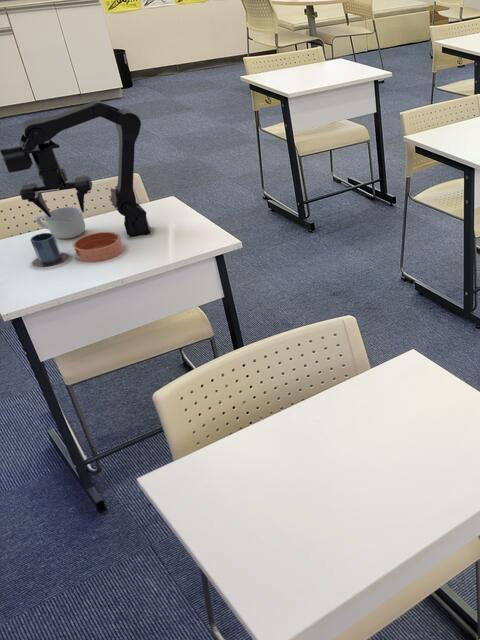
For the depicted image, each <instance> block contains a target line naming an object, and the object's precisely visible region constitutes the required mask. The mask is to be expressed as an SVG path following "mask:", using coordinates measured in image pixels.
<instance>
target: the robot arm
mask: <svg viewBox="0 0 480 640" xmlns="http://www.w3.org/2000/svg"><path fill="white" fill-rule="evenodd" d="M97 118H102V119H106V120H107V121H109V122H112V123H114V124H115V128H116V131H117V136H118V165H117V166H118V167H117V168H118V171H117V185H116V186H115V188H112V187H111V188H110V198H109V201H110V203H112V206H113V208H115V210H116V211H117V212H118V213H119V214H120V215H121V216H123V217H124V221H123V225H124V228H125V231H126V234H127V235H128V238H135V237H144V236H149V235H151V232H152V228H151V226H150V223H149V220H148V217H147V211H146V210H145V208H143V207H142V206H141V205H140V204H139V203H138V202H137V197H136V194H135V190H134V172H135V170H134V169H135V151H136V150H135V148H136V147H135V146H136V142H137V139H138V138H139V135H140V131H141V126H142V121H141V118H139V116H138V115H137V114H135V113H134V112H133V111H132V110H130V109H129V108H117V107H115V106H113V105H109V104H106V103H103V102H102V101H100V100H97V99H95V100H92V101H90V102H88V103H85V104H83V105H80V106H77V107H75V108H72V109H69V110H66V111H64V112H61V113H59V114H55V115H53V116H45V117H43V116H42V117H36V118H30V119H26V120H24V121H23V122H22V124H21V127H20V128H21V129H20V131H21V136H20V139H19V142H18V145H16V146H10V147H2V148H1V147H0V155H1V157H2V162H3V164H4V166H5V168H6V170H7V173H8V174H13V173H18V172H22V171H27V170H31V168H32V166H33V165H34V164H35V166H36V169H37V172H38V176H39V179H40V180H41V181H42V184H43V185H41V186H40V185H39V186H38V185H37V183H34V182H33V183H27V184H26V183H25V184H23V185H22V186H21V188H20V190H19V195H20V198H21V200H22V201H27V202H28V203H33V204H34V205H35V206H37V207H38V208H39V209H40V210H41V211H42V212H43V213H44V215H45V214H47V215H48V216H49V217H51V214H50V211H51V210H50V209H49V207H48V205H47V203H46V201H45V199H44V197H43V194H45V193H51V192H58V191H60V192H61V191H65V190H74V189H75V191H76V198H77V201H78V204H79V209H80V210H81V213H82V214H84V213H85V195H88V193H89V191H90V192H91V191H92V188H93V182H92V179H91V177H89V176H88V175H86V176H85V175H84V176H78V177H75V178H74V181H70V182H67V181H68V176H67V172H66V169H65V168H62V167H61V165H60V163H59V162H58V159H57V156H56V153H55V152H54V151H55V150H54V149H60V147H61V146H60V144H59V143H58V142H57V141H54V140H52V139H53V138H54V137H56V136H57V135H58V134H59V133H61V132H62V131H66V130H68V129H70V128H74V127H76V126H78V125H81V124H84V123H87V122H90V121H92V120H95V119H97ZM30 154H31V156H32V157H31V156H30ZM32 159H33V160H32ZM33 161H34V163H33Z"/></svg>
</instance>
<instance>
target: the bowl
mask: <svg viewBox="0 0 480 640" xmlns="http://www.w3.org/2000/svg"><path fill="white" fill-rule="evenodd" d="M72 248H73V250H74V253H75V255H76V258H77V259H78V260H79V261H81V262H84V263H96V262H104V261H107V260H111V259H114V258H117V257H118V256H120V255H121V254H122V253H123V252H124V249H125V247H124V244H123V241H122V238H121V236H120V234H118V233H117V232H112V231H100V232H94V233H89V234H86V235H84V236H81V237H80V238H78V239H76V240H75V241H73V244H72Z"/></svg>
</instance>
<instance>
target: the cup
mask: <svg viewBox="0 0 480 640" xmlns="http://www.w3.org/2000/svg"><path fill="white" fill-rule="evenodd" d="M30 242H31V245H32V247H33V250H34V253H35V255H36V258H38V260H39V262H40V263H42V264H52V263H55V262H58V261H60V260H61V259H62V255H61V253H62V252H61V250H60V248H59V245H58V243H57V240H56V237H55V236H54V235H53V234H52V233H51V232H42V233H38V234H35V235H33V236H31V237H30Z"/></svg>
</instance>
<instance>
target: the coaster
mask: <svg viewBox="0 0 480 640" xmlns="http://www.w3.org/2000/svg"><path fill="white" fill-rule="evenodd" d="M61 255H62V259H61V260H60V261H58V262H55V263H52V264H42V263H40V262H39V260H38V257H36V258H35V259H34V260H33V261H32V265H33V266H34V267H36V268H51V267H55V266H58V265H61V264H64V263H65V262H66V261H68V260H69V258H70V255H69V254H68V253H66V252H61Z"/></svg>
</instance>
